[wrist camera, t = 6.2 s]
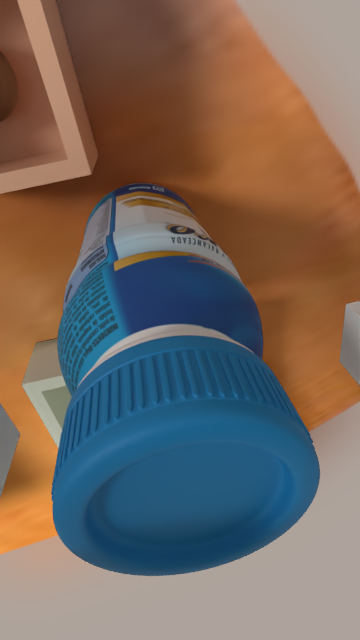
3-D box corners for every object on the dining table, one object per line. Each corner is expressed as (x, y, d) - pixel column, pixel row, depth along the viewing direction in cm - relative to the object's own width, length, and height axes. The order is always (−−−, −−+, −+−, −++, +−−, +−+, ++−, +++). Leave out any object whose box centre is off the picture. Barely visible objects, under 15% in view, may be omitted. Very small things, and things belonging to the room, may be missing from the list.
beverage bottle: (58, 212, 23) (-96, 495, 6) (173, 156, 22) (335, 312, 6) (119, 308, 28) (120, 621, 11) (215, 264, 27) (375, 529, 10)
